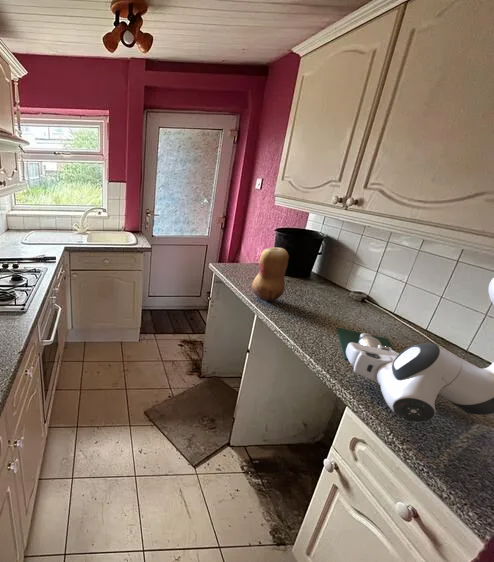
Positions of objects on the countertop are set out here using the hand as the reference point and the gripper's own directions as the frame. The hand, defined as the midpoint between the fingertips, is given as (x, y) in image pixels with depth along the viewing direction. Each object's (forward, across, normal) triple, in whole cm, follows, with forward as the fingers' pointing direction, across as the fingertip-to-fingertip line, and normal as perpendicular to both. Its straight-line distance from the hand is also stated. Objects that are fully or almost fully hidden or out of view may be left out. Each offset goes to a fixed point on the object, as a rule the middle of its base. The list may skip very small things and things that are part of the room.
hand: (383, 348), depth 95 cm
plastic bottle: (-6, 0, +5) cm, 8 cm away
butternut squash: (+40, +35, +8) cm, 54 cm away
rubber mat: (+13, 0, +8) cm, 16 cm away
